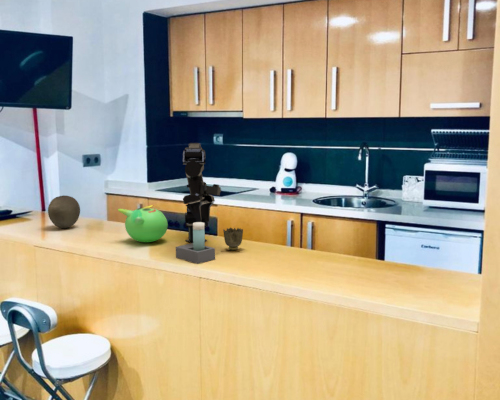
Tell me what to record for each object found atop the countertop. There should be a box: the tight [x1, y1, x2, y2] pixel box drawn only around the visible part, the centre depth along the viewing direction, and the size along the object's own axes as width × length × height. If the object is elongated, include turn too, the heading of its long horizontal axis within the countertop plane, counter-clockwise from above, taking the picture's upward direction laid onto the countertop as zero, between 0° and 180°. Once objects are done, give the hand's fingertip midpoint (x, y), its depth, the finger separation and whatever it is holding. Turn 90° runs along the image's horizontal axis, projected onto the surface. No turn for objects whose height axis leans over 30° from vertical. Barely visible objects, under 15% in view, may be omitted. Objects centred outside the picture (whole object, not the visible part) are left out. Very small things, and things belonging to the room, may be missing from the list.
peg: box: [193, 222, 206, 251], centre depth 187 cm, size 4×4×13 cm
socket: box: [175, 242, 216, 265], centre depth 189 cm, size 12×8×4 cm, turn 46°
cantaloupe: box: [47, 195, 81, 229], centre depth 242 cm, size 14×14×15 cm
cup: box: [222, 227, 244, 252], centre depth 200 cm, size 8×7×8 cm
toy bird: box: [117, 204, 169, 243], centre depth 215 cm, size 18×17×15 cm
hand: (204, 221), depth 197 cm, fingers open, 9 cm apart
